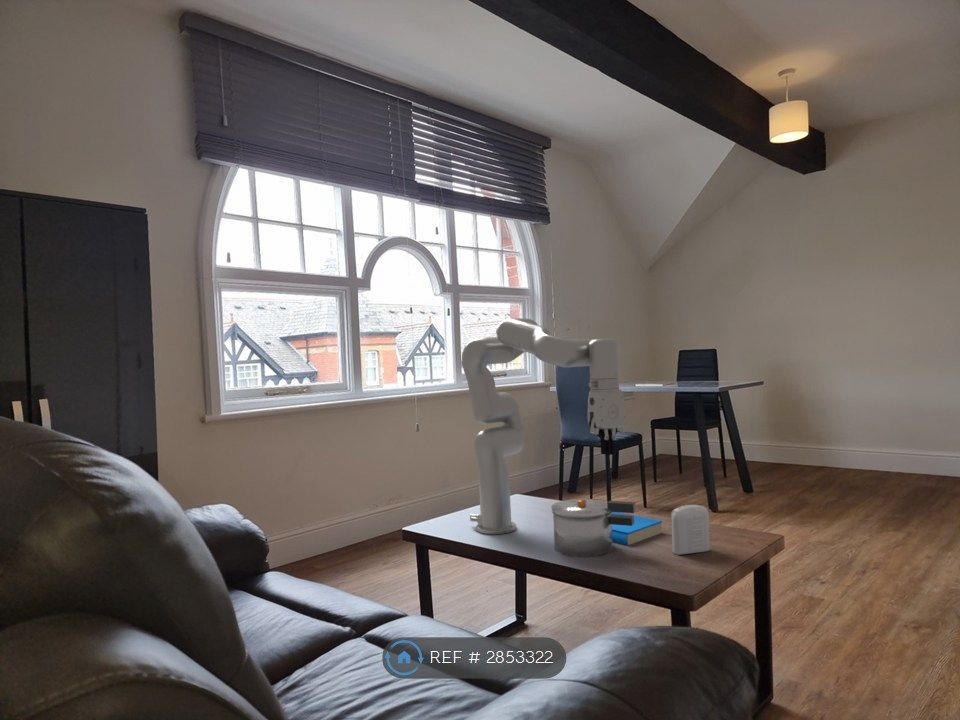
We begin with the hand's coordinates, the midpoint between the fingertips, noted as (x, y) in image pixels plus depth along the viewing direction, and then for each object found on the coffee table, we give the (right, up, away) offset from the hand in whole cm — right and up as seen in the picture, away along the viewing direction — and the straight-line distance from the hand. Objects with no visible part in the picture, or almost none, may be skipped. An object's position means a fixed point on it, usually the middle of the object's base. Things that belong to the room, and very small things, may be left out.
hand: (607, 454), depth 170 cm
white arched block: (+22, -26, 0) cm, 34 cm away
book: (+6, -27, +23) cm, 36 cm away
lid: (-3, -17, +6) cm, 18 cm away
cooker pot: (-2, -27, +6) cm, 28 cm away
